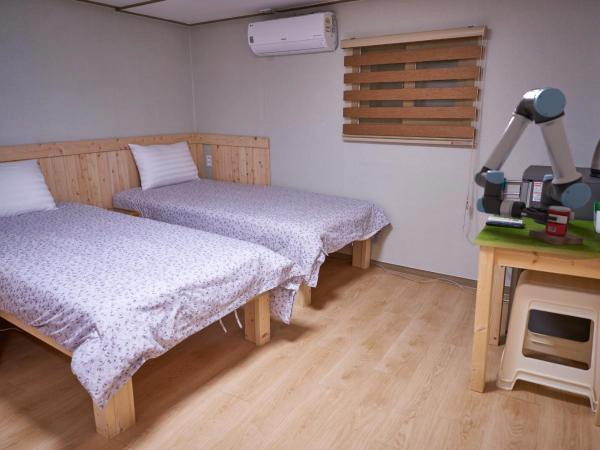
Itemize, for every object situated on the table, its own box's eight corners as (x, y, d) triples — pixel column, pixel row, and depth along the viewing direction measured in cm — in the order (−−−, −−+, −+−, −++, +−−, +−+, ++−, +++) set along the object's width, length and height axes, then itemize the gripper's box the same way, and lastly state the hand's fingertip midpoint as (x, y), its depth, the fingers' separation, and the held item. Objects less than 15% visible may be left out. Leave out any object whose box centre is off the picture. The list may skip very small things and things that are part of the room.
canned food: (569, 237, 186) (574, 210, 183) (547, 235, 187) (552, 209, 184) (562, 231, 193) (567, 206, 190) (542, 230, 195) (546, 205, 192)
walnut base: (557, 234, 199) (558, 228, 198) (582, 243, 186) (583, 237, 185) (528, 235, 196) (529, 230, 195) (552, 245, 183) (553, 239, 182)
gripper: (521, 213, 209) (576, 222, 194) (502, 221, 193) (560, 232, 178) (523, 197, 207) (579, 205, 192) (504, 204, 191) (563, 213, 177)
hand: (570, 218), depth 185 cm, fingers open, 10 cm apart
